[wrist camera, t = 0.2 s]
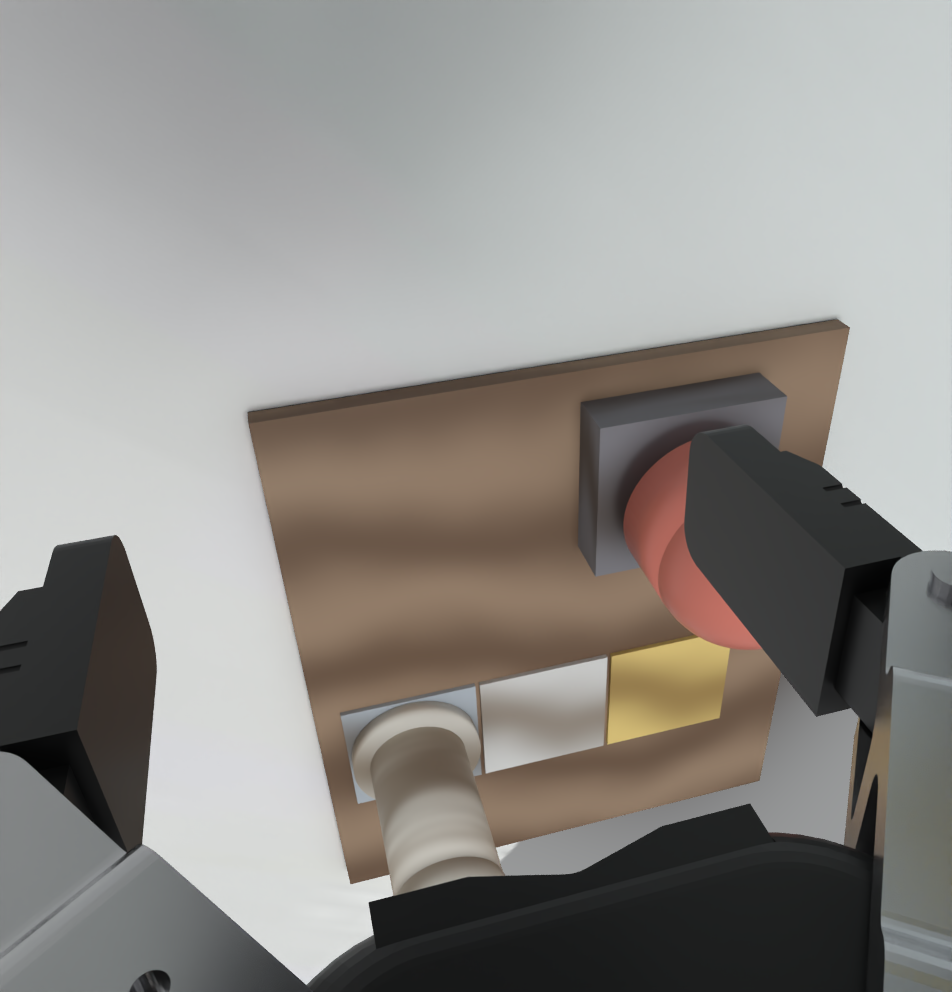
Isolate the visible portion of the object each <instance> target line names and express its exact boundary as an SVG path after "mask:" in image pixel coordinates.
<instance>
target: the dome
mask: <svg viewBox="0 0 952 992" xmlns="http://www.w3.org/2000/svg"><path fill="white" fill-rule="evenodd" d="M690 445H691V441H689V442H687V443H685V444H683V445H681V446H679V447H677V448H675V449H674V450H672V451H670V452H669V453H667V454H666V455H665V456H663V457H662V458H661V459H659V460H658V461H657V462H656V463H655V464H654V465H653V466H652V467H651V468H650V469H649V470H648V471H647V472H646V473H645V474H644V476H643V477H642V478H641V480H640V481H639V482H638V484H637V485H636V487H635V489H634V490H633V492H632V494H631V496H630V498H629V501H628V503H627V506H626V510H625V514H624V522H623V531H624V537H625V541H626V544H627V547H628V549H629V550H630V552H631V554H632V555H633V557H634V558H635V560H636V562H637V563H638V565H639V566H640V568H641V569H642V571H643V572H644V574H645V575H646V577H647V578H648V580H649V582H650V583H651V585H652V586H653V588H654V589H655V591H656V592H657V594H658V595H659V597H660V598H661V600H662V602H663V603H664V605H665V606H666V608H667V609H668V610H669V611H670V613H671V614H672V615H673V616H674V618H675V619H676V620H677V621H678V622H679V623H680V624H682V625H683V626H684V627H685V628H686V629H688V630H689V631H690V632H692V633H693V634H695V635H696V636H698V637H700V638H702V639H704V640H706V641H708V642H710V643H713V644H716V645H719V646H722V647H727V648H732V649H739V650H758V649H762V648H761V646H760V645H759V644H758V643H757V641H756V640H755V639H754V638H753V636H752V635H751V634H750V632H749V631H748V630H747V629H746V627H745V626H744V625H743V624H742V622H741V621H740V620H739V619H738V617H737V616H736V615H735V614H734V612H733V611H732V610H731V609H730V607H729V606H728V605H727V604H726V602H725V601H724V600H723V599H722V597H721V596H720V595H719V593H718V592H717V591H716V590H715V588H714V587H713V586H712V585H711V583H710V582H709V581H708V580H707V578H706V577H705V576H704V575H703V573H702V572H701V571H700V570H699V568H698V567H697V566H696V564H695V563H694V561H693V559H692V557H691V555H690V553H689V550H688V547H687V543H686V538H685V531H684V519H685V505H686V492H687V478H688V465H689V451H690Z"/></svg>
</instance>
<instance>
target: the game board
mask: <svg viewBox="0 0 952 992" xmlns="http://www.w3.org/2000/svg"><path fill="white" fill-rule="evenodd" d="M849 329H850V327H848V326H847V325H845V324H844V323H842V322H841V321H839V320H838V319H837V320H831V321H824V322H818V323H812V324H805V325H799V326H793V327H786V328H780V329H774V330H767V331H761V332H755V333H748V334H742V335H736V336H729V337H723V338H717V339H710V340H704V341H698V342H691V343H685V344H679V345H672V346H666V347H660V348H653V349H647V350H641V351H634V352H628V353H622V354H615V355H609V356H603V357H596V358H590V359H584V360H577V361H571V362H565V363H558V364H552V365H546V366H539V367H533V368H527V369H520V370H514V371H508V372H501V373H495V374H489V375H482V376H476V377H470V378H463V379H457V380H451V381H444V382H438V383H432V384H425V385H419V386H413V387H406V388H400V389H394V390H387V391H381V392H375V393H368V394H362V395H356V396H349V397H343V398H337V399H330V400H324V401H318V402H311V403H305V404H299V405H292V406H286V407H280V408H273V409H267V410H261V411H254V412H248V423H249V428H250V433H251V437H252V442H253V446H254V451H255V455H256V460H257V464H258V469H259V473H260V478H261V482H262V487H263V491H264V496H265V500H266V505H267V509H268V514H269V518H270V523H271V527H272V532H273V536H274V541H275V545H276V550H277V554H278V559H279V563H280V568H281V572H282V577H283V582H284V586H285V591H286V595H287V600H288V604H289V609H290V613H291V618H292V622H293V627H294V631H295V636H296V640H297V645H298V649H299V654H300V658H301V663H302V667H303V672H304V676H305V681H306V685H307V690H308V694H309V699H310V703H311V708H312V712H313V717H314V721H315V726H316V730H317V735H318V740H319V744H320V749H321V753H322V758H323V762H324V767H325V771H326V776H327V780H328V785H329V789H330V794H331V798H332V803H333V807H334V812H335V816H336V821H337V825H338V830H339V834H340V839H341V843H342V848H343V852H344V857H345V861H346V866H347V870H348V875H349V879H350V884H353V883H357V882H361V881H365V880H369V879H373V878H377V877H381V876H385V875H389V868H388V863H387V858H386V852H385V847H384V842H383V836H382V831H381V826H380V820H379V815H378V810H377V804H376V799H373V798H371V797H370V796H368V795H367V794H365V793H364V792H363V791H362V790H361V789H360V787H359V786H358V784H357V782H356V780H355V776H354V771H353V765H352V757H351V755H352V748H353V745H354V742H355V740H356V738H357V736H358V735H359V733H360V732H361V731H362V730H363V728H364V727H365V726H366V725H367V724H368V723H369V722H371V721H372V720H373V719H375V718H376V717H377V716H379V715H380V714H382V713H384V712H386V711H388V710H390V709H392V708H395V707H397V706H400V705H403V704H407V703H412V702H418V701H438V702H444V703H448V704H451V705H454V706H456V707H458V708H460V709H462V710H463V711H464V712H466V713H467V714H468V715H469V716H470V717H471V719H472V721H473V722H474V725H475V727H476V730H477V733H478V736H479V740H480V744H481V754H480V758H479V761H478V763H477V765H476V767H475V769H474V770H473V775H474V778H475V782H476V785H477V788H478V792H479V795H480V798H481V801H482V805H483V808H484V811H485V815H486V818H487V821H488V824H489V828H490V831H491V834H492V838H493V841H494V844H495V848H496V847H500V846H504V845H507V844H511V843H515V842H519V841H523V840H527V839H531V838H535V837H539V836H543V835H547V834H551V833H555V832H558V831H563V830H567V829H571V828H575V827H579V826H583V825H586V824H590V823H594V822H598V821H602V820H606V819H610V818H614V817H618V816H622V815H626V814H630V813H634V812H637V811H641V810H646V809H650V808H654V807H658V806H661V805H665V804H669V803H673V802H677V801H681V800H685V799H689V798H693V797H697V796H701V795H705V794H709V793H713V792H716V791H720V790H725V789H729V788H733V787H736V786H740V785H744V784H748V783H752V782H756V781H759V780H760V775H761V770H762V765H763V760H764V755H765V750H766V745H767V740H768V735H769V730H770V725H771V720H772V715H773V710H774V704H775V700H776V695H777V689H778V685H779V680H780V675H781V671H780V670H779V669H778V668H777V666H776V665H775V664H774V663H773V661H772V660H771V659H770V658H769V656H768V655H767V654H766V653H765V651H764V650H763V649H758V650H739V649H732V648H727V647H722V646H719V645H716V644H713V643H710V642H708V641H706V640H704V639H702V638H700V637H698V636H696V635H695V634H693V633H692V632H690V631H689V630H688V629H686V628H685V627H684V626H683V625H682V624H680V623H679V622H678V621H677V620H676V619H675V618H674V616H673V615H672V614H671V613H670V611H669V610H668V609H667V608H666V606H665V605H664V603H663V602H662V600H661V598H660V597H659V595H658V594H657V592H656V591H655V589H654V588H653V586H652V585H651V583H650V582H649V580H648V578H647V577H646V575H645V574H644V572H643V571H642V569H641V568H640V566H639V565H638V563H637V562H636V560H635V558H634V557H633V555H632V554H631V552H630V550H629V549H628V547H627V544H626V541H625V537H624V531H623V522H624V514H625V510H626V506H627V503H628V501H629V498H630V496H631V494H632V492H633V490H634V489H635V487H636V485H637V484H638V482H639V481H640V480H641V478H642V477H643V476H644V474H645V473H646V472H647V471H648V470H649V469H650V468H651V467H652V466H653V465H654V464H655V463H656V462H657V461H658V460H659V459H661V458H662V457H663V456H665V455H666V454H667V453H669V452H670V451H672V450H674V449H675V448H677V447H679V446H681V445H683V444H685V443H687V442H689V441H692V439H693V437H694V436H695V435H696V434H697V433H700V432H705V431H711V430H717V429H722V428H728V427H734V426H739V425H749V426H751V427H753V428H754V429H755V430H756V431H757V432H758V433H760V434H761V435H762V436H763V437H764V438H765V439H767V440H768V441H769V442H770V443H771V444H772V445H773V446H775V447H776V448H777V449H778V450H779V451H780V452H782V451H788V452H791V453H793V454H795V455H798V456H800V457H802V458H805V459H807V460H809V461H812V462H814V463H816V464H818V465H820V466H821V467H822V465H823V460H824V455H825V450H826V445H827V440H828V435H829V429H830V424H831V419H832V414H833V409H834V404H835V399H836V394H837V389H838V384H839V379H840V374H841V369H842V364H843V359H844V354H845V349H846V344H847V339H848V334H849Z"/></svg>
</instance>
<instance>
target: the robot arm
mask: <svg viewBox="0 0 952 992" xmlns="http://www.w3.org/2000/svg"><path fill="white" fill-rule="evenodd" d="M684 531H685V538H686V543H687V547H688V550H689V553H690V555H691V557H692V559H693V561H694V563H695V564H696V566H697V567H698V568H699V570H700V571H701V572H702V573H703V575H704V576H705V577H706V578H707V580H708V581H709V582H710V583H711V585H712V586H713V587H714V588H715V590H716V591H717V592H718V593H719V595H720V596H721V597H722V599H723V600H724V601H725V602H726V604H727V605H728V606H729V607H730V609H731V610H732V611H733V612H734V614H735V615H736V616H737V617H738V619H739V620H740V621H741V622H742V624H743V625H744V626H745V627H746V629H747V630H748V631H749V632H750V634H751V635H752V636H753V638H754V639H755V640H756V641H757V643H758V644H759V645H760V646H761V648H762V649H763V650H764V651H765V653H766V654H767V655H768V656H769V658H770V659H771V660H772V661H773V663H774V664H775V665H776V666H777V668H778V669H779V670H780V671H781V673H782V674H783V675H784V677H785V678H786V679H787V680H788V681H789V683H790V684H791V685H792V686H793V688H794V689H795V690H796V691H797V693H798V694H799V695H800V697H801V698H802V699H803V700H804V702H805V703H806V704H807V705H808V707H809V708H810V709H811V710H812V712H813V713H814V714H815V716H816V717H817V716H821V715H824V714H829V713H833V712H837V711H841V710H845V709H849V708H852V709H853V711H854V712H855V713H856V714H857V715H858V717H859V719H858V723H857V728H856V732H855V736H854V745H853V756H852V766H851V777H850V787H849V798H848V809H847V819H846V829H845V839H844V845H841V844H838V843H835V842H831V841H828V840H825V839H820V838H814V837H809V836H804V835H798V834H786V833H768V831H767V830H766V828H765V827H764V825H763V823H762V822H761V820H760V819H759V817H758V815H757V814H756V812H755V811H754V809H753V808H752V806H751V804H746V805H743V806H739V807H735V808H731V809H727V810H723V811H719V812H716V813H712V814H708V815H704V816H700V817H696V818H692V819H689V820H685V821H681V822H677V823H673V824H669V825H665V826H662V827H660V828H658V829H656V830H655V831H653V832H651V833H649V834H647V835H646V836H644V837H642V838H640V839H638V840H637V841H635V842H633V843H631V844H629V845H628V846H626V847H624V848H622V849H620V850H619V851H617V852H615V853H613V854H611V855H610V856H608V857H606V858H604V859H602V860H601V861H599V862H597V863H595V864H593V865H592V866H590V867H588V868H586V869H584V870H582V871H580V872H577V873H573V874H565V875H522V876H476V877H465V878H461V879H457V880H453V881H449V882H446V883H442V884H438V885H434V886H430V887H426V888H422V889H419V890H415V891H411V892H407V893H403V894H399V895H395V896H392V897H388V898H384V899H380V900H376V901H372V902H369V908H370V914H371V920H372V926H373V933H374V935H373V936H371V937H369V938H367V939H366V940H364V941H362V942H360V943H358V944H357V945H355V946H353V947H352V948H351V949H349V950H348V951H346V952H345V953H343V954H342V955H341V956H339V957H338V958H336V959H335V960H334V961H332V962H331V963H330V964H329V965H328V966H327V967H326V968H325V969H323V970H322V971H321V972H320V973H319V974H318V975H317V976H315V977H314V978H313V979H312V980H311V981H310V982H309V983H308V984H307V985H305V984H304V983H303V982H302V981H301V980H300V979H299V978H298V977H296V976H295V975H294V974H293V973H292V972H291V971H290V970H288V969H287V968H286V967H285V966H284V965H283V964H282V963H281V962H279V961H278V960H277V959H276V958H275V957H274V956H273V955H272V954H270V953H269V952H268V951H267V950H266V949H265V948H264V947H262V946H261V945H260V944H259V943H258V942H257V941H256V940H255V939H253V938H252V937H251V936H250V935H249V934H248V933H247V932H246V931H244V930H243V929H242V928H241V927H240V926H239V925H238V924H236V923H235V922H234V921H233V920H232V919H231V918H230V917H229V916H227V915H226V914H225V913H224V912H223V911H222V910H221V909H220V908H218V907H217V906H216V905H215V904H214V903H213V902H212V901H211V900H209V899H208V898H207V897H206V896H205V895H204V894H203V893H201V892H200V891H199V890H198V889H197V888H196V887H195V886H194V885H192V884H191V883H190V882H189V881H188V880H187V879H186V878H185V877H183V876H182V875H181V874H180V873H179V872H178V871H177V870H175V869H174V868H173V867H172V866H171V865H170V864H169V863H168V862H166V861H165V860H164V859H163V858H162V857H161V856H160V855H158V854H157V853H156V852H155V851H153V850H152V849H150V848H149V847H147V846H145V845H142V837H143V826H144V814H145V802H146V791H147V779H148V768H149V756H150V744H151V733H152V721H153V710H154V698H155V686H156V674H157V665H156V653H155V646H154V641H153V636H152V632H151V628H150V625H149V622H148V618H147V615H146V612H145V609H144V606H143V603H142V600H141V597H140V594H139V591H138V588H137V585H136V582H135V579H134V576H133V573H132V569H131V566H130V563H129V560H128V557H127V554H126V551H125V548H124V546H123V544H122V542H121V540H120V538H119V537H118V536H117V535H113V536H107V537H102V538H96V539H91V540H85V541H79V542H74V543H68V544H62V545H57V546H56V547H55V548H54V550H53V553H52V557H51V560H50V564H49V567H48V571H47V574H46V578H45V582H44V585H43V587H39V588H34V589H29V590H23V591H18V592H17V593H16V594H15V595H14V597H13V598H12V599H11V600H10V601H9V602H8V603H7V604H6V605H5V606H4V607H3V609H2V610H1V611H0V992H952V552H950V551H922V550H921V549H920V548H918V547H917V546H916V545H915V544H914V543H912V542H911V541H910V540H909V539H908V538H906V537H905V536H904V535H903V534H902V533H900V532H899V531H898V530H897V529H896V528H894V527H893V526H892V525H891V524H890V523H888V522H887V521H886V520H885V519H884V518H882V517H881V516H880V515H879V514H878V513H876V512H875V511H874V510H873V509H872V508H870V507H869V506H868V505H867V504H866V503H865V504H862V503H861V499H860V498H859V497H857V496H856V495H855V494H854V493H853V492H851V491H850V490H849V489H848V488H843V487H842V483H841V482H839V481H838V480H837V479H836V478H835V477H833V476H832V475H831V474H830V473H829V472H827V471H826V470H825V469H824V468H823V467H821V466H820V465H818V464H816V463H814V462H812V461H809V460H807V459H805V458H802V457H800V456H798V455H795V454H793V453H791V452H788V451H782V452H780V451H779V450H778V449H777V448H776V447H775V446H773V445H772V444H771V443H770V442H769V441H768V440H767V439H765V438H764V437H763V436H762V435H761V434H760V433H758V432H757V431H756V430H755V429H754V428H753V427H751V426H749V425H739V426H734V427H728V428H722V429H717V430H711V431H705V432H700V433H697V434H696V435H695V436H694V437H693V439H692V441H691V445H690V451H689V465H688V478H687V492H686V505H685V519H684Z"/></svg>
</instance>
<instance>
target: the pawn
mask: <svg viewBox="0 0 952 992" xmlns="http://www.w3.org/2000/svg"><path fill="white" fill-rule="evenodd" d="M480 754H481V744H480V740H479V736H478V733H477V730H476V727H475V725H474V722H473V721H472V719H471V717H470V716H469V715H468V714H467V713H466V712H464V711H463V710H462V709H460V708H458V707H456V706H454V705H451V704H448V703H444V702H438V701H418V702H412V703H407V704H403V705H400V706H397V707H395V708H392V709H390V710H388V711H386V712H384V713H382V714H380V715H379V716H377V717H376V718H375V719H373V720H372V721H371V722H369V723H368V724H367V725H366V726H365V727H364V728H363V730H362V731H361V732H360V733H359V735H358V736H357V738H356V740H355V742H354V745H353V748H352V755H351V757H352V765H353V771H354V776H355V780H356V782H357V784H358V786H359V787H360V789H361V790H362V791H363V792H364V793H365V794H367V795H368V796H370V797H371V798H373V799H376V804H377V810H378V815H379V820H380V826H381V831H382V836H383V842H384V847H385V852H386V858H387V863H388V868H389V874H390V879H391V885H392V890H393V895H394V896H395V895H399V894H403V893H407V892H411V891H415V890H419V889H422V888H426V887H430V886H434V885H438V884H442V883H446V882H449V881H453V880H457V879H461V878H465V877H476V876H505V874H504V873H503V871H502V867H501V864H500V861H499V857H498V854H497V851H496V848H495V844H494V841H493V838H492V834H491V831H490V828H489V824H488V821H487V818H486V815H485V811H484V808H483V805H482V801H481V798H480V795H479V792H478V788H477V785H476V782H475V778H474V775H473V770H474V769H475V767H476V765H477V763H478V761H479V758H480Z"/></svg>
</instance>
